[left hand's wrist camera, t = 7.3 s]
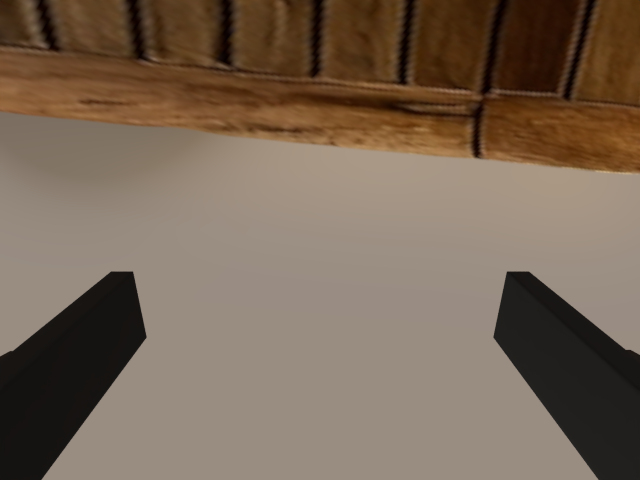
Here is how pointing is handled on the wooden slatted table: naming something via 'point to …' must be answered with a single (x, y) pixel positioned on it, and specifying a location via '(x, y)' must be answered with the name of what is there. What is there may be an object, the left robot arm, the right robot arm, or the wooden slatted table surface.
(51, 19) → the wooden slatted table surface
